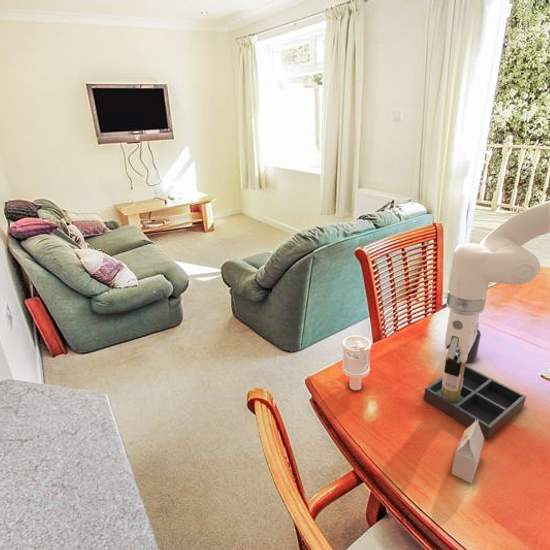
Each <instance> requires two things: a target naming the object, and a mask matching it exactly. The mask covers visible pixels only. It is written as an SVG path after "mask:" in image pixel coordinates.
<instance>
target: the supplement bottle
mask: <svg viewBox="0 0 550 550" xmlns="http://www.w3.org/2000/svg"><path fill="white" fill-rule="evenodd" d="M478 325H479V321H478ZM480 341H481V331H480V329H479V326H478V327H477V335H476V339H475V341H474V343H473V345H472V347H471V349H470V351H469V353H468V356H467V361H466V363H467V364H468V363H472V362H475V361H476V360H477V357H478V352H479V348H480Z"/></svg>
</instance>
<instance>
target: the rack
mask: <svg viewBox="0 0 550 550" xmlns="http://www.w3.org/2000/svg"><path fill="white" fill-rule="evenodd" d="M442 381H443V376H442V377H440V378H438V379H436V380H435V381H434V382H432V383H431V384H429V385H428V386H427V387H425V388H424V395H423V400H424V401H426V402H428V403H429V404H431V405H432V406H433V407H435V408H437V409H438V410H440V411H441V412H443V413H445V414H446V415H448V416H449V417H451V418H453V419H454V420H456V422H459V423H460V424H462V425H463V426H465V427H466V428H468V427H469V426H470V425H472V424H473V423H474V421H475V420H476V421H477V420H478V423H479V426H480V429H481V431H482V434H483V436H484V440H487V441H488V440H489V439H490V438H491V437H492V436H494V435H495V433H497V432H498V431H499V430H501V428H502V427H504V425H505V424H507V423H508V422H509V421H510V420H511V419H512V418H513V417H514V416H515V415H517V414H518V413H519V412H521V410H523V408H524V405H525V402H526V399H527V395H525V394H523V393H521V392H519V391H517V390H515V389H513V388H511V387H509V386H507V385H505V384H503V383H502V382H499V381H498V380H495V379H494V378H492V377H489V376H488V375H486V374H484V373H482V372H480V371H478V370H475V369H474V368H472V367H470V366H469V365H466V364H465V369H464V375H463V384H462V388H461V393H460V399H459V400H458V401H456V402H451V401H449V400H447V399H446V398H444V397H442V396H441V390H442Z"/></svg>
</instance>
